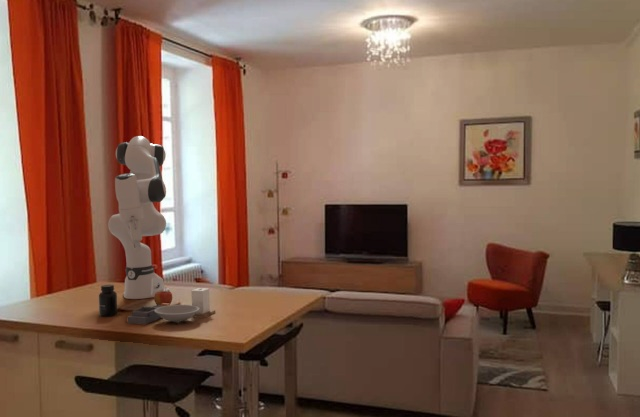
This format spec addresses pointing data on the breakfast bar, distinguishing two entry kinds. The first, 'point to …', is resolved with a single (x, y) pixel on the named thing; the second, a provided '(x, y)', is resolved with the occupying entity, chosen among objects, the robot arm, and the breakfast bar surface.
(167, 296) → the apple
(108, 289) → the supplement bottle
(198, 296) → the block
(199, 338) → the breakfast bar surface
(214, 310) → the cork pad
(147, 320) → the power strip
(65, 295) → the breakfast bar surface
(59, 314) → the breakfast bar surface
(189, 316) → the dish
